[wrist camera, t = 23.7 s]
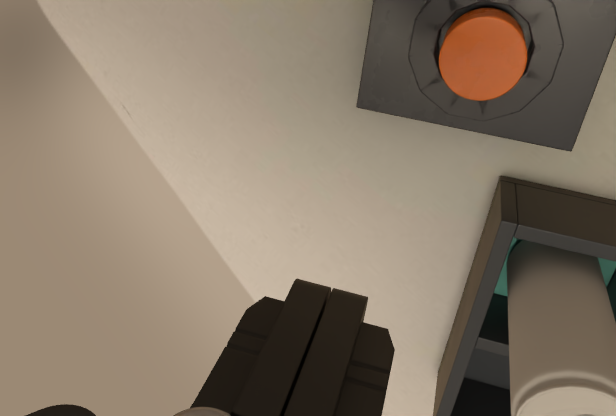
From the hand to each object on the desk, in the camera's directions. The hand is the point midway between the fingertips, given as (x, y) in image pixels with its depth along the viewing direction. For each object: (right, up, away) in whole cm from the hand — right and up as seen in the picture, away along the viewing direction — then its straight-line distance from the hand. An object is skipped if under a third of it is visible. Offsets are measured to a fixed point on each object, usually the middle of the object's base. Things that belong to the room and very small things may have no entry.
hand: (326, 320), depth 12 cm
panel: (+8, +11, +17) cm, 22 cm away
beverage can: (+13, -1, +21) cm, 25 cm away
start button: (+8, +9, +14) cm, 19 cm away
